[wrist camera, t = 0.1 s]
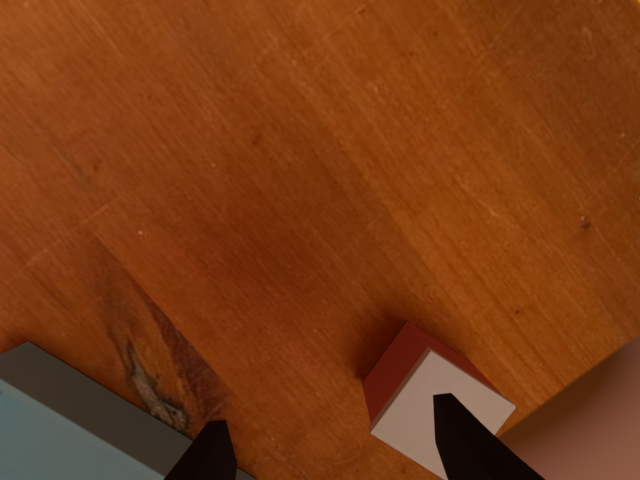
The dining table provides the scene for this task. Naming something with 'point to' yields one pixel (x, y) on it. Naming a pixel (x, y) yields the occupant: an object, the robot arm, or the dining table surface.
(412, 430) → the two-tone cube
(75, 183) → the dining table surface
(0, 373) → the shallow rectangular tray
